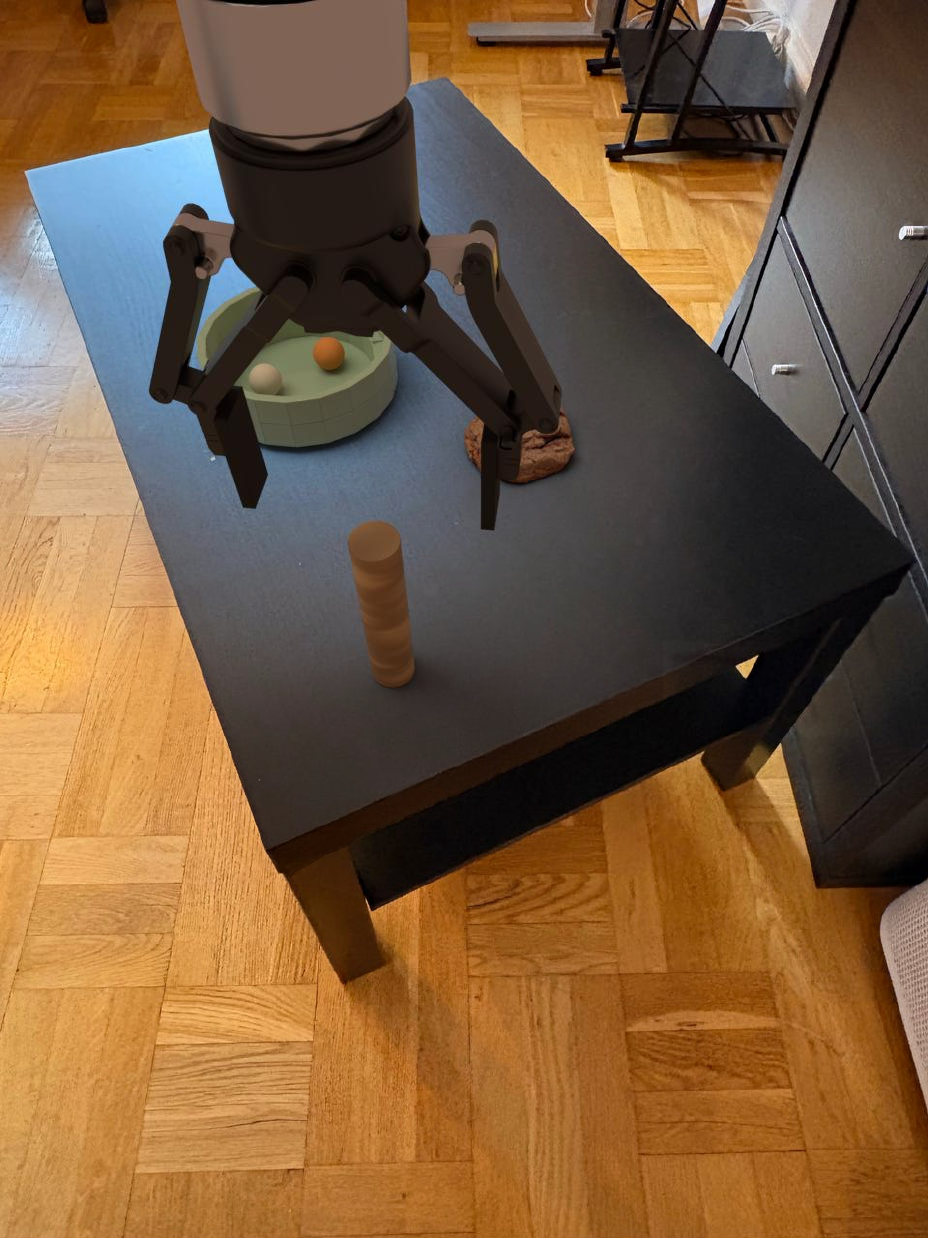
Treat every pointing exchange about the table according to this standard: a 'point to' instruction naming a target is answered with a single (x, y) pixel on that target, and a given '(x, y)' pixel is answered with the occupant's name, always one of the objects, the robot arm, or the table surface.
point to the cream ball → (265, 379)
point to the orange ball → (328, 353)
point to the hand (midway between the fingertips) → (371, 501)
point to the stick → (383, 600)
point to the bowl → (308, 379)
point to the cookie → (529, 449)
